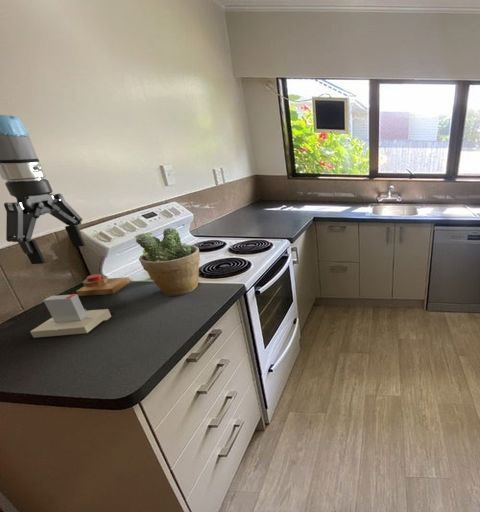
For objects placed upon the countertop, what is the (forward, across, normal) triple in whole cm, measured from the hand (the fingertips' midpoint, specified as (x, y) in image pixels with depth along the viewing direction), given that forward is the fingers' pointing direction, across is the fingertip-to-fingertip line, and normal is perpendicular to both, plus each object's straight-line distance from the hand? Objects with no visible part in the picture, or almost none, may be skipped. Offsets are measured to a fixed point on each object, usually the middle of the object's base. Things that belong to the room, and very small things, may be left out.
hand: (60, 254), depth 84 cm
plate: (+24, -2, +4) cm, 24 cm away
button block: (+24, +25, +12) cm, 37 cm away
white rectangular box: (+21, -2, +3) cm, 21 cm away
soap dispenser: (+24, +32, -4) cm, 40 cm away
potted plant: (+24, +20, -18) cm, 36 cm away
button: (+20, +26, +15) cm, 37 cm away
